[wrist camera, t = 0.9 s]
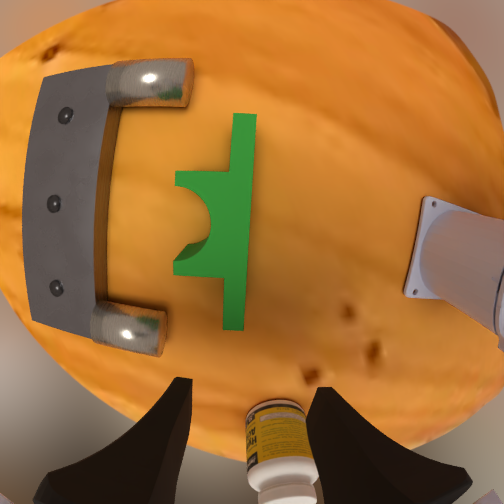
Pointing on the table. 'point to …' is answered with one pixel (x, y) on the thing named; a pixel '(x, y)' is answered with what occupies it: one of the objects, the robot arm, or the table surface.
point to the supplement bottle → (280, 454)
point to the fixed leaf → (87, 197)
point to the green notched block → (224, 222)
